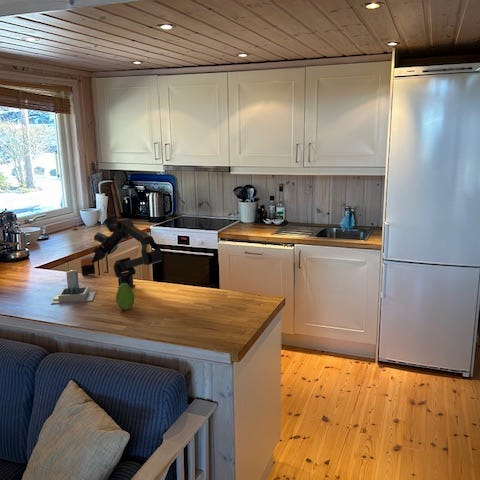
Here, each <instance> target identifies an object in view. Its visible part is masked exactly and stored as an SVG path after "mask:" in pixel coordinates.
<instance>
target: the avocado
mask: <svg viewBox="0 0 480 480" xmlns="http://www.w3.org/2000/svg"><path fill="white" fill-rule="evenodd" d="M118 287H119V288H118ZM118 287H117V291H116V295H115V302H116V306H117V307H118V308H119V309H121V310H123V311H125V310H129V309H130V308H132V307H133V306H134V303H135V293H134V291H133V289H132V288H131V287H130V286H129V285H128V284H126V283H122V284H121V285H120V286H119V285H118Z"/></svg>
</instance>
